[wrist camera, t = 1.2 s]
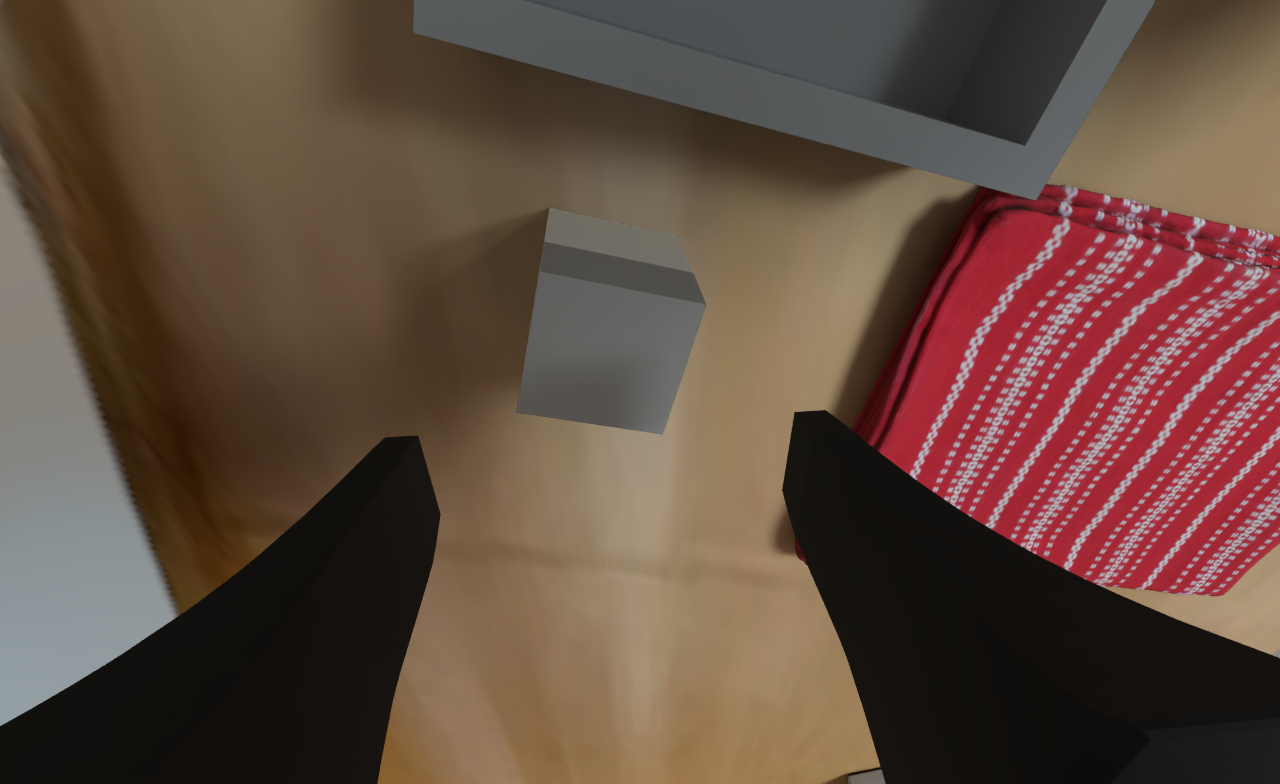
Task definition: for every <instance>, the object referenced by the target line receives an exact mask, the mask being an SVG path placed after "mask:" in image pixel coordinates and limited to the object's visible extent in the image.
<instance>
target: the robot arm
mask: <svg viewBox="0 0 1280 784" xmlns="http://www.w3.org/2000/svg"><path fill="white" fill-rule="evenodd" d="M782 491H783V495H784V499H785V502H786V506H787V510H788V514H789V517H790V520H791V524H792V527H793V531H794V534H795V537H796V539H797V542H798V544H799V546H800V549H801V551H802V554H803V556H804V558H805V561H806V563H807V565H808V568H809V570H810V572H811V575H812V577H813V579H814V581H815V584H816V586H817V588H818V591H819V593H820V595H821V597H822V600H823V602H824V604H825V607H826V609H827V611H828V613H829V616H830V618H831V620H832V623H833V625H834V627H835V630H836V632H837V634H838V636H839V639H840V642H841V644H842V647H843V649H844V652H845V654H846V657H847V660H848V663H849V666H850V669H851V672H852V675H853V678H854V681H855V684H856V687H857V691H858V694H859V697H860V700H861V703H862V706H863V709H864V712H865V716H866V719H867V722H868V726H869V729H870V732H871V736H872V739H873V743H874V746H875V749H876V753H877V756H878V759H879V763H880V766H881V769H882V773H883V777H884V780H885V784H1280V658H1278V657H1275V656H1273V655H1270V654H1267V653H1265V652H1262V651H1259V650H1257V649H1254V648H1251V647H1249V646H1246V645H1243V644H1241V643H1238V642H1235V641H1233V640H1230V639H1227V638H1225V637H1222V636H1219V635H1217V634H1214V633H1211V632H1209V631H1206V630H1203V629H1201V628H1198V627H1195V626H1193V625H1190V624H1187V623H1185V622H1182V621H1180V620H1177V619H1175V618H1172V617H1170V616H1167V615H1165V614H1163V613H1160V612H1158V611H1156V610H1153V609H1151V608H1149V607H1146V606H1144V605H1142V604H1139V603H1137V602H1135V601H1132V600H1130V599H1128V598H1125V597H1123V596H1121V595H1118V594H1116V593H1114V592H1112V591H1110V590H1108V589H1105V588H1103V587H1101V586H1099V585H1097V584H1094V583H1092V582H1090V581H1088V580H1086V579H1084V578H1082V577H1080V576H1078V575H1076V574H1074V573H1072V572H1070V571H1068V570H1066V569H1064V568H1062V567H1060V566H1058V565H1056V564H1054V563H1052V562H1050V561H1048V560H1046V559H1044V558H1042V557H1040V556H1038V555H1036V554H1034V553H1033V552H1031V551H1029V550H1027V549H1025V548H1023V547H1021V546H1020V545H1018V544H1016V543H1014V542H1013V541H1011V540H1009V539H1007V538H1006V537H1004V536H1002V535H1001V534H999V533H997V532H995V531H994V530H992V529H990V528H989V527H987V526H985V525H983V524H982V523H980V522H978V521H977V520H975V519H974V518H972V517H970V516H969V515H967V514H966V513H964V512H962V511H961V510H959V509H958V508H956V507H955V506H953V505H952V504H950V503H949V502H947V501H946V500H945V499H943V498H942V497H940V496H939V495H937V494H936V493H934V492H933V491H931V490H930V489H928V488H927V487H925V486H924V485H923V484H921V483H920V482H918V481H917V480H916V479H914V478H913V477H912V476H910V475H909V474H907V473H906V472H905V471H903V470H902V469H901V468H899V467H898V466H897V465H895V464H894V463H893V462H891V461H890V460H889V459H888V458H886V457H885V456H884V455H882V454H881V453H880V452H878V451H877V450H876V449H875V448H873V447H872V446H871V445H870V444H868V443H867V442H866V441H865V440H863V439H862V438H861V437H859V436H858V435H857V434H856V433H854V432H853V431H852V430H851V429H849V428H848V427H847V426H846V425H844V424H843V423H842V422H840V421H839V420H838V419H837V418H835V417H834V416H833V415H831V414H830V413H828V412H827V411H826V410H821V411H805V412H795V413H794V419H793V426H792V432H791V438H790V445H789V451H788V457H787V463H786V470H785V476H784V482H783V489H782ZM439 521H440V511H439V507H438V504H437V500H436V497H435V493H434V490H433V486H432V483H431V479H430V476H429V472H428V469H427V465H426V462H425V458H424V454H423V451H422V447H421V444H420V440H419V437H418V436H403V437H387V438H384V439H383V440H382V441H381V442H380V443H379V444H378V445H377V446H375V447H374V448H373V449H372V450H371V451H370V452H369V453H368V454H367V455H366V456H365V457H364V458H363V459H362V460H361V461H360V462H359V463H358V464H357V465H356V466H355V467H354V468H353V469H352V470H351V471H350V472H349V473H348V474H347V475H346V476H345V477H344V478H343V479H342V480H341V481H340V482H339V483H338V484H337V485H336V486H335V487H334V488H333V489H332V490H330V491H329V492H328V493H327V494H326V495H325V496H324V497H323V498H322V499H321V500H320V501H319V502H318V503H317V504H316V505H315V506H314V507H313V508H312V509H311V510H310V511H309V512H307V513H306V514H305V515H304V516H303V517H302V518H301V519H300V520H299V521H297V522H296V523H295V524H294V525H293V526H292V527H291V528H289V529H288V530H287V531H286V532H285V533H284V534H283V535H281V536H280V537H279V538H278V539H277V540H276V541H275V542H273V543H272V544H271V545H270V546H269V547H268V548H267V549H266V550H264V551H263V552H262V553H261V554H260V555H259V556H257V557H256V558H255V559H254V560H253V561H251V562H250V563H249V564H248V565H246V566H245V567H244V568H243V569H241V570H240V571H239V572H238V573H236V574H235V575H234V576H233V577H231V578H230V579H229V580H227V581H226V582H225V583H223V584H222V585H221V586H219V587H218V588H217V589H215V590H214V591H213V592H211V593H210V594H209V595H207V596H206V597H205V598H203V599H202V600H201V601H199V602H198V603H197V604H195V605H194V606H193V607H191V608H190V609H188V610H187V611H186V612H184V613H183V614H181V615H180V616H178V617H177V618H175V619H174V620H172V621H171V622H169V623H168V624H166V625H165V626H163V627H162V628H160V629H159V630H157V631H156V632H154V633H153V634H151V635H150V636H148V637H147V638H145V639H144V640H142V641H141V642H140V643H138V644H136V645H135V646H133V647H132V648H131V649H129V650H128V651H126V652H125V653H123V654H122V655H120V656H118V657H117V658H115V659H114V660H112V661H111V662H109V663H107V664H106V665H104V666H102V667H101V668H99V669H98V670H96V671H94V672H93V673H91V674H89V675H88V676H86V677H84V678H83V679H81V680H80V681H78V682H76V683H75V684H73V685H71V686H70V687H68V688H66V689H64V690H63V691H61V692H59V693H58V694H56V695H54V696H52V697H51V698H49V699H48V700H46V701H44V702H43V703H41V704H39V705H37V706H36V707H34V708H32V709H30V710H28V711H27V712H25V713H23V714H21V715H19V716H18V717H16V718H14V719H12V720H11V721H9V722H7V723H5V724H4V725H2V726H0V784H377V782H378V776H379V771H380V765H381V759H382V754H383V749H384V744H385V738H386V733H387V728H388V723H389V718H390V713H391V708H392V702H393V698H394V694H395V690H396V686H397V683H398V679H399V675H400V671H401V668H402V665H403V662H404V658H405V655H406V652H407V648H408V645H409V642H410V638H411V635H412V632H413V628H414V625H415V622H416V618H417V615H418V612H419V609H420V605H421V602H422V599H423V595H424V592H425V588H426V585H427V582H428V578H429V575H430V571H431V568H432V564H433V559H434V553H435V547H436V542H437V535H438V528H439Z"/></svg>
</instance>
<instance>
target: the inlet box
mask: <svg viewBox="0 0 1280 784" xmlns="http://www.w3.org/2000/svg"><path fill="white" fill-rule="evenodd" d="M1155 1H1156V0H414V15H413V33H416V34H420V35H424V36H427V37H431V38H435V39H438V40H442V41H446V42H450V43H453V44H457V45H461V46H464V47H468V48H472V49H475V50H479V51H483V52H487V53H490V54H494V55H498V56H501V57H505V58H509V59H513V60H516V61H520V62H524V63H527V64H531V65H535V66H539V67H542V68H546V69H550V70H553V71H557V72H561V73H565V74H568V75H572V76H576V77H579V78H583V79H587V80H591V81H594V82H598V83H602V84H605V85H609V86H613V87H616V88H620V89H624V90H628V91H631V92H635V93H639V94H642V95H646V96H650V97H654V98H657V99H661V100H665V101H668V102H672V103H676V104H680V105H683V106H687V107H691V108H694V109H698V110H702V111H706V112H709V113H713V114H717V115H720V116H724V117H728V118H731V119H735V120H739V121H743V122H746V123H750V124H754V125H757V126H761V127H765V128H769V129H772V130H776V131H780V132H783V133H787V134H791V135H795V136H798V137H802V138H806V139H809V140H813V141H817V142H821V143H824V144H828V145H832V146H835V147H839V148H843V149H847V150H850V151H854V152H858V153H861V154H865V155H869V156H872V157H876V158H880V159H884V160H887V161H891V162H895V163H898V164H902V165H906V166H910V167H913V168H917V169H921V170H924V171H928V172H932V173H936V174H939V175H943V176H947V177H950V178H954V179H958V180H962V181H965V182H969V183H973V184H976V185H980V186H984V187H987V188H991V189H995V190H999V191H1002V192H1006V193H1010V194H1013V195H1017V196H1021V197H1025V198H1028V199H1032V200H1037V198H1038V196H1039V195H1040V193H1041V191H1042V190H1043V188H1044V186H1045V185H1046V183H1047V181H1048V180H1049V178H1050V176H1051V175H1052V173H1053V171H1054V170H1055V168H1056V166H1057V165H1058V163H1059V161H1060V160H1061V158H1062V156H1063V155H1064V153H1065V151H1066V150H1067V148H1068V146H1069V145H1070V143H1071V141H1072V140H1073V138H1074V136H1075V135H1076V133H1077V131H1078V130H1079V128H1080V126H1081V125H1082V123H1083V121H1084V120H1085V118H1086V116H1087V115H1088V113H1089V111H1090V110H1091V108H1092V106H1093V105H1094V103H1095V101H1096V100H1097V98H1098V96H1099V95H1100V93H1101V91H1102V90H1103V88H1104V86H1105V85H1106V83H1107V81H1108V80H1109V78H1110V76H1111V75H1112V73H1113V71H1114V70H1115V68H1116V66H1117V65H1118V63H1119V61H1120V60H1121V58H1122V56H1123V55H1124V53H1125V51H1126V50H1127V48H1128V46H1129V45H1130V43H1131V41H1132V40H1133V38H1134V36H1135V35H1136V33H1137V31H1138V30H1139V28H1140V26H1141V25H1142V23H1143V21H1144V20H1145V18H1146V16H1147V15H1148V13H1149V11H1150V10H1151V8H1152V6H1153V5H1154V3H1155Z"/></svg>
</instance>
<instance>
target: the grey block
mask: <svg viewBox="0 0 1280 784" xmlns="http://www.w3.org/2000/svg"><path fill="white" fill-rule="evenodd" d="M705 307H706V303H705V301H704V298H703V296H702V293H701V291H700V288H699V286H698V283H697V281H696V279H695V276H694V274H693V271H692V269H691V266H690V264H689V261H688V259H687V257H686V254H685V252H684V249H683V247H682V244H681V242H680V239H679V237H678V236H676V235H671V234H667V233H662V232H658V231H653V230H649V229H644V228H640V227H635V226H631V225H626V224H622V223H617V222H613V221H608V220H604V219H599V218H595V217H590V216H586V215H581V214H577V213H572V212H568V211H563V210H559V209H554V208H549V214H548V220H547V226H546V232H545V238H544V244H543V250H542V257H541V263H540V269H539V275H538V281H537V287H536V293H535V299H534V305H533V311H532V317H531V323H530V329H529V336H528V342H527V348H526V354H525V361H524V367H523V373H522V380H521V386H520V392H519V399H518V405H517V411H516V413H523V414H529V415H536V416H543V417H549V418H556V419H563V420H570V421H576V422H583V423H590V424H596V425H603V426H610V427H616V428H623V429H630V430H636V431H643V432H650V433H656V434H663V431H664V429H665V426H666V423H667V420H668V417H669V414H670V411H671V408H672V405H673V402H674V399H675V396H676V393H677V390H678V387H679V384H680V381H681V378H682V375H683V372H684V369H685V366H686V363H687V360H688V357H689V354H690V351H691V348H692V345H693V342H694V339H695V336H696V333H697V330H698V327H699V324H700V321H701V318H702V315H703V312H704V310H705Z"/></svg>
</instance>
